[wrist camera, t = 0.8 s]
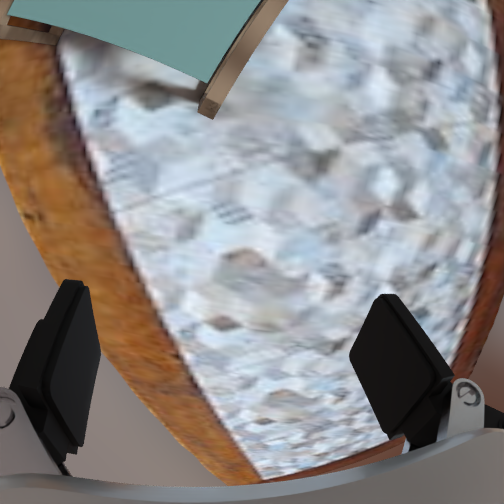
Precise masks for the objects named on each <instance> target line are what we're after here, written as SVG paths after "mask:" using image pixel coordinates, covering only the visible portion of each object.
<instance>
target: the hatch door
mask: <svg viewBox="0 0 504 504" xmlns="http://www.w3.org/2000/svg"><path fill="white" fill-rule="evenodd" d="M260 1H261V0H14V1H13V3H12V5H11V7H10V9H9V11H8V14H7V15H11V16H16V17H21V18H25V19H29V20H34V21H38V22H42V23H46V24H50V25H53V26H57V27H61V28H64V29H68V30H71V31H75V32H78V33H81V34H84V35H87V36H91V37H94V38H97V39H100V40H103V41H105V42H108V43H111V44H114V45H117V46H120V47H122V48H125V49H128V50H130V51H133V52H136V53H138V54H141V55H143V56H146V57H148V58H151V59H153V60H156V61H158V62H160V63H163V64H165V65H167V66H170V67H172V68H174V69H177V70H179V71H181V72H183V73H185V74H188V75H190V76H192V77H194V78H196V79H198V80H201V81H203V82H205V83H208V81H209V79H210V78H211V76H212V74H213V73H214V71H215V69H216V68H217V66H218V64H219V63H220V61H221V59H222V58H223V56H224V54H225V53H226V51H227V50H228V48H229V47H230V45H231V43H232V42H233V40H234V39H235V37H236V36H237V34H238V33H239V31H240V30H241V28H242V27H243V25H244V24H245V22H246V21H247V19H248V18H249V16H250V15H251V13H252V12H253V10H254V9H255V8H256V6H257V5H258V3H259V2H260Z"/></svg>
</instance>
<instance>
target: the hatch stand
mask: <svg viewBox="0 0 504 504" xmlns="http://www.w3.org/2000/svg"><path fill="white" fill-rule="evenodd" d="M13 1H14V0H1V1H0V39H9V40H19V41H27V42H35V43H42V44H49V45H55V46H56V45H57V42H58V40H59V38H60V36H61V34H62V32H63V30H64V28H61V27H57V26H53V25H52V27H51V29H50V31H49V33H46V32H42V31H37V30H32V29H27V28H22V27H16V26H10V25H7V23H8V21H9V19H10V17H11V15H7V14H8V11H9V9H10V7H11V5H12V3H13ZM288 1H289V0H263V2H262V3H261V4H260V6H259V7H258V9H257V10H256V12H255V13H254V14H253V16H252V17H251V19H250V20H249V22H248V23H247V25H246V26H245V28H244V29H243V31H242V32H241V34H240V35H239V37H238V38H237V40H236V41H235V43H234V45H233V46H232V48H231V49H230V51H229V52H228V54H227V56H226V57H225V59H224V60H223V62H222V64H221V65H220V67H219V69H218V70H217V72H216V74H215V75H214V77H213V79H212V80H211V82H210V84H209V86H208V87H207V89H206V91H205V93H204V94H203V96H202V98H201V100H200V102H199V106H198V113H200V114H202V115H204V116H206V117H208V118H210V119H212V120H213V119H214V117H215V115H216V113H217V112H218V110H219V108H220V106H221V105H222V103H223V101H224V99H225V98H226V96H227V94H228V93H229V91H230V89H231V88H232V86H233V84H234V83H235V81H236V79H237V78H238V76H239V74H240V73H241V71H242V69H243V68H244V66H245V65H246V63H247V61H248V60H249V58H250V57H251V55H252V54H253V52H254V50H255V49H256V47H257V46H258V44H259V43H260V41H261V40H262V38H263V37H264V35H265V34H266V32H267V31H268V29H269V28H270V26H271V25H272V23H273V22H274V20H275V19H276V17H277V16H278V15H279V13H280V12H281V10H282V9H283V7H284V6H285V5H286V3H287V2H288Z"/></svg>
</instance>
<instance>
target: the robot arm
mask: <svg viewBox="0 0 504 504" xmlns="http://www.w3.org/2000/svg"><path fill="white" fill-rule="evenodd" d="M100 356H101V349H100V344H99V339H98V335H97V330H96V325H95V320H94V315H93V309H92V303H91V298H90V291H89V288H88V286H84V284H83V282H82V281H79V280H68V279H65V280H64V281H63V282H62V284H61V286H60V288H59V290H58V292H57V294H56V296H55V298H54V299H53V301H52V304H51V306H50V308H49V310H48V312H47V314H46V316H45V318H44V320H43V319H41V320H39V321H38V322H37V324H36V326H35V328H34V330H33V332H32V334H31V336H30V339H29V341H28V343H27V346H26V348H25V350H24V353H23V354H22V357H21V359H20V362H19V364H18V367H17V369H16V372H15V374H14V377H13V379H12V382H11V384H10V387H9V389H7V388H3V387H0V504H504V413H502V412H500V411H498V410H496V409H494V408H492V407H490V406H487V405H485V404H484V396H483V393H482V391H481V389H480V388H479V387H478V386H477V385H476V384H475V383H474V382H472V381H470V380H468V379H464V378H462V379H458V380H456V381H455V382H454V383H453V384H452V383H451V382H450V381H451V380H452V378H453V377H454V376H455V375H454V373H453V372H452V370H451V369H450V367H449V366H448V364H447V363H446V362H445V360H444V359H443V357H442V356H441V354H440V353H439V351H438V350H437V349H436V347H435V346H434V344H433V343H432V342H431V340H430V339H429V337H428V336H427V335H426V333H425V332H424V330H423V329H422V328H421V326H420V325H419V324H418V322H417V321H416V320H415V318H414V317H413V315H412V314H411V313H410V311H409V310H408V309H407V307H406V306H405V305H404V304H403V302H402V301H401V300H400V298H399V297H398V296H397V295H396V294H381V295H379V296H378V298H376V299H375V300H374V302H373V304H372V306H371V308H370V311H369V313H368V315H367V317H366V319H365V321H364V324H363V326H362V328H361V330H360V332H359V334H358V336H357V338H356V340H355V342H354V344H353V346H352V348H351V350H350V354H349V358H350V362H351V364H352V366H353V368H354V370H355V372H356V374H357V376H358V379H359V381H360V383H361V385H362V387H363V389H364V391H365V394H366V396H367V398H368V400H369V402H370V404H371V407H372V409H373V411H374V413H375V415H376V418H377V420H378V422H379V424H380V426H381V429H382V431H383V432H384V433H386V434H387V436H388V438H389V440H392V439H396V438H399V437H402V436H403V435H404V434H405V436H406V441H405V444H404V448H403V451H402V454H401V455H399V456H395V457H392V458H389V459H385V460H382V461H379V462H375V463H372V464H368V465H364V466H360V467H356V468H352V469H348V470H343V471H339V472H334V473H330V474H325V475H320V476H314V477H308V478H302V479H296V480H289V481H282V482H274V483H265V484H255V485H242V486H225V487H167V486H149V485H134V484H124V483H115V482H107V481H100V480H93V479H85V478H77V477H73V476H72V475H71V473H70V472H69V470H68V469H67V467H66V466H65V464H64V461H65V460H66V454H67V453H71V454H77V450H78V446H79V447H82V446H83V444H84V439H85V432H86V426H87V420H88V415H89V409H90V404H91V399H92V394H93V389H94V384H95V379H96V375H97V370H98V366H99V361H100Z"/></svg>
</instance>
